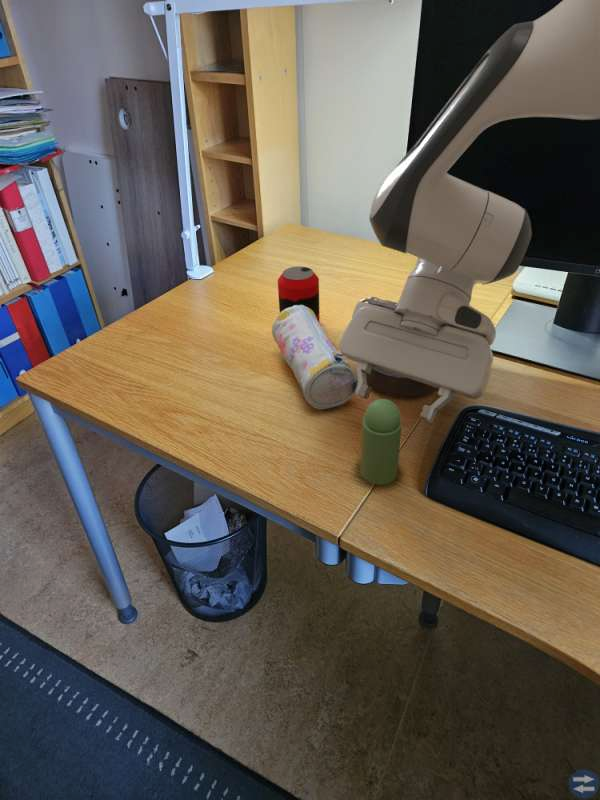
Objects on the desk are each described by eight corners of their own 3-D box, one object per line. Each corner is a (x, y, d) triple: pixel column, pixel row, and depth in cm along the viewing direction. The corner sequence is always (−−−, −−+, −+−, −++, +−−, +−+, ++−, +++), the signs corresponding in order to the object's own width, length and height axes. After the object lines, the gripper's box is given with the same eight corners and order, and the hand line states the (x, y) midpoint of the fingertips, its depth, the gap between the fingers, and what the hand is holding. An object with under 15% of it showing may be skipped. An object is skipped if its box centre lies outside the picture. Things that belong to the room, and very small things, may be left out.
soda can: (327, 329, 108) (327, 271, 101) (301, 345, 104) (298, 286, 97) (299, 316, 113) (297, 260, 105) (272, 331, 108) (268, 274, 101)
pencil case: (359, 407, 89) (361, 357, 83) (307, 419, 87) (305, 369, 81) (315, 342, 105) (315, 297, 99) (271, 351, 103) (267, 305, 97)
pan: (447, 361, 98) (450, 341, 96) (431, 404, 89) (434, 384, 86) (374, 348, 102) (375, 329, 100) (352, 388, 93) (352, 368, 90)
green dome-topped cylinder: (400, 464, 78) (408, 395, 71) (391, 489, 75) (398, 418, 67) (366, 456, 80) (370, 387, 72) (355, 479, 76) (358, 409, 69)
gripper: (353, 285, 76) (316, 379, 76) (503, 323, 67) (462, 430, 66) (367, 301, 82) (333, 389, 81) (508, 338, 72) (469, 437, 72)
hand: (392, 408), depth 74 cm, fingers open, 8 cm apart
